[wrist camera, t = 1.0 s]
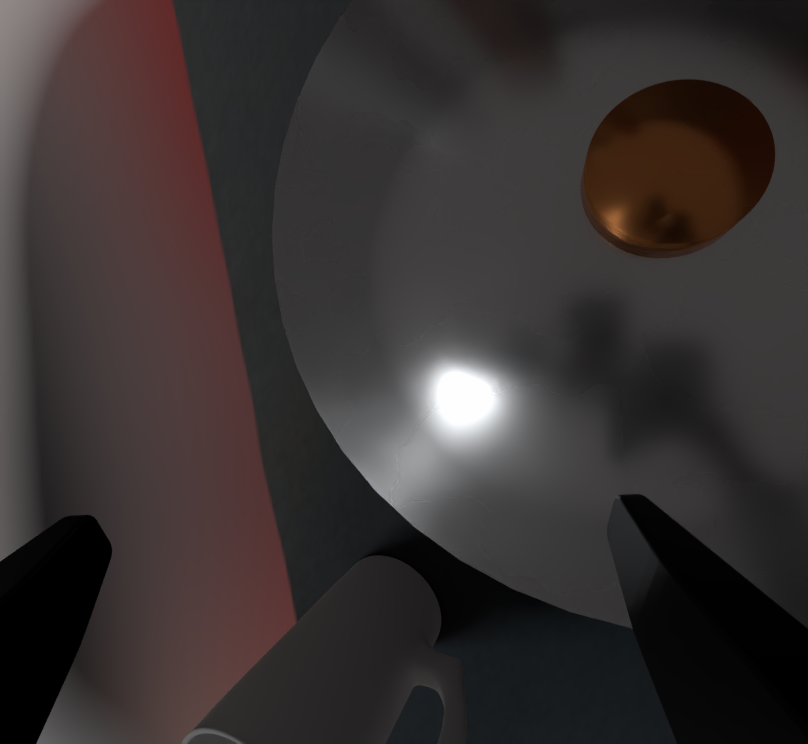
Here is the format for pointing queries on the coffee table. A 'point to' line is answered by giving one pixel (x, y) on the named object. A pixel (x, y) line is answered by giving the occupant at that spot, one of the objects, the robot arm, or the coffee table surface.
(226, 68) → the coffee table surface
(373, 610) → the mug
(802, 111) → the lid
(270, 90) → the coffee table surface
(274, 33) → the coffee table surface
